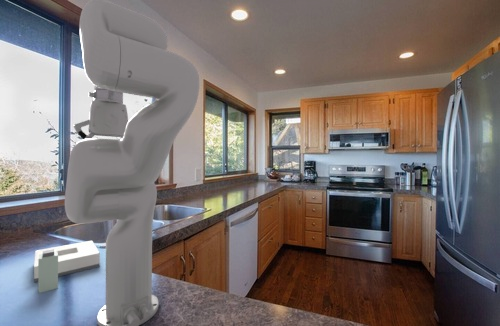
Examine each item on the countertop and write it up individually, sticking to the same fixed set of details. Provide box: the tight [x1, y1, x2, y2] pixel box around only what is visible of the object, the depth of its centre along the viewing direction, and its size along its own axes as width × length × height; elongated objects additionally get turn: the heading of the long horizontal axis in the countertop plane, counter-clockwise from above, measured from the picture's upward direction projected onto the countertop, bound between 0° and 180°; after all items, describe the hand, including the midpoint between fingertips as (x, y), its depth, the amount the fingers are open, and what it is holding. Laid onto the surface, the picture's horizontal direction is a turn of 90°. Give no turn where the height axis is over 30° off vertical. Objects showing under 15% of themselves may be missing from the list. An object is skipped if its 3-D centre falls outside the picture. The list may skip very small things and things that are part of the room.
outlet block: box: [33, 240, 101, 283], centre depth 79 cm, size 16×16×4 cm
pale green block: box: [37, 249, 59, 294], centre depth 65 cm, size 4×4×10 cm
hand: (108, 155), depth 72 cm, fingers open, 9 cm apart
